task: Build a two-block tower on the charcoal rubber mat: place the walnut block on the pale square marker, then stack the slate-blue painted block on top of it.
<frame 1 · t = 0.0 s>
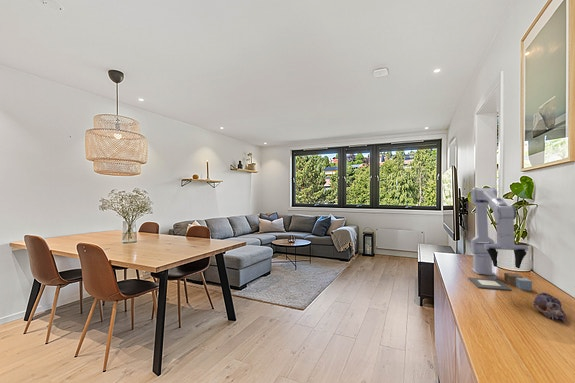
hand: (506, 267, 112), 10 cm above the sideboard, tool pointing down, fingers open, 7 cm apart
blue block: (523, 288, 114), on the sideboard
mat: (488, 284, 120), on the sideboard
skull: (550, 316, 89), on the sideboard
walnut block: (513, 283, 121), on the sideboard
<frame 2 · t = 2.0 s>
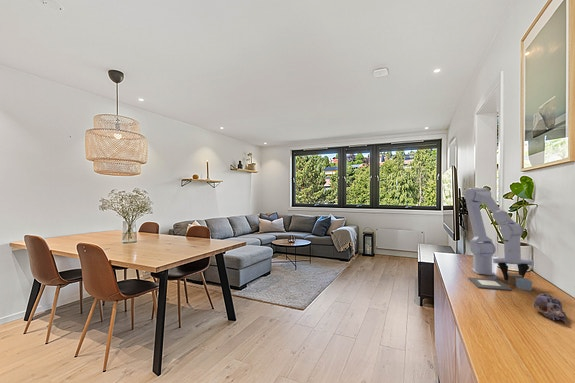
hand: (513, 279, 121), 1 cm above the sideboard, tool pointing down, fingers closed on walnut block, 5 cm apart
walnut block: (513, 283, 121), on the sideboard, touching gripper
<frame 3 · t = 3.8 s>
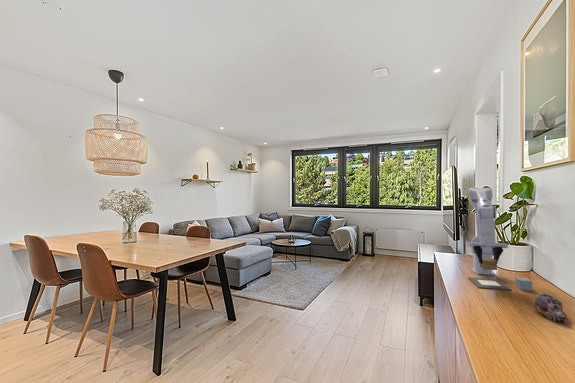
hand: (488, 263, 121), 9 cm above the sideboard, tool pointing down, fingers closed on walnut block, 5 cm apart
walnut block: (488, 268, 120), point 7 cm above the sideboard, touching gripper
when the fingers open (3 cm above the sideboard, at t = 5.5 s): walnut block stays where it is, resting on mat.
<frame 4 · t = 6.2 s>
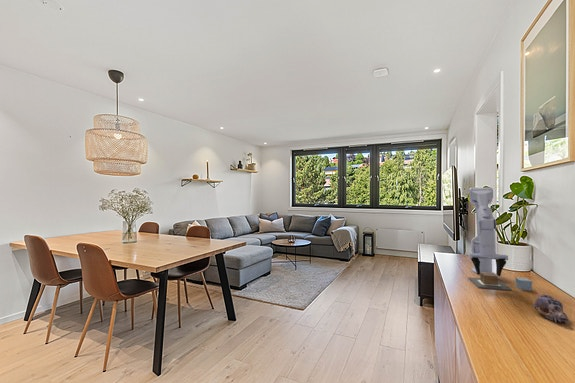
hand: (488, 274, 121), 4 cm above the sideboard, tool pointing down, fingers open, 7 cm apart
walnut block: (489, 282, 120), point 1 cm above the sideboard, touching mat
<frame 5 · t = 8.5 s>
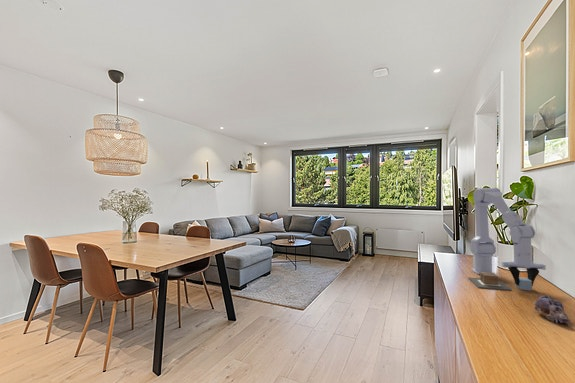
hand: (523, 285, 115), 1 cm above the sideboard, tool pointing down, fingers closed on blue block, 4 cm apart
blue block: (523, 288, 114), on the sideboard, touching gripper
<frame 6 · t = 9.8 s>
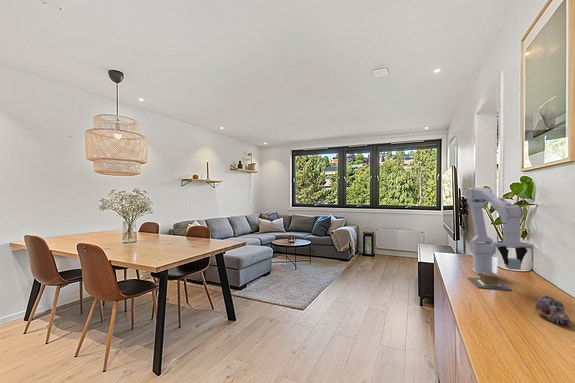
hand: (512, 264, 116), 10 cm above the sideboard, tool pointing down, fingers closed on blue block, 4 cm apart
blue block: (512, 268, 116), point 8 cm above the sideboard, touching gripper
when the fingers open (7 cm above the sideboard, at t = 11.2 s): blue block stays where it is, resting on walnut block.
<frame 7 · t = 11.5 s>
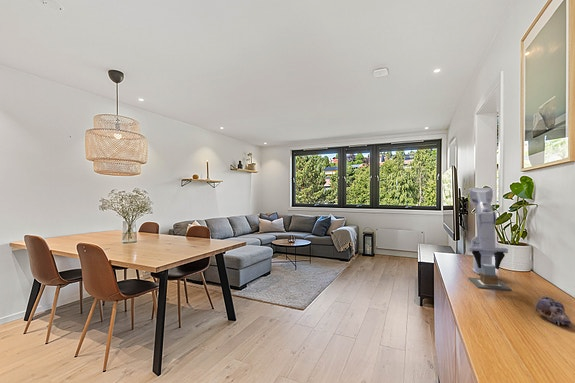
hand: (488, 268, 121), 7 cm above the sideboard, tool pointing down, fingers open, 6 cm apart
blue block: (488, 273, 120), point 5 cm above the sideboard, touching walnut block
walnut block: (488, 282, 120), point 1 cm above the sideboard, touching blue block, mat
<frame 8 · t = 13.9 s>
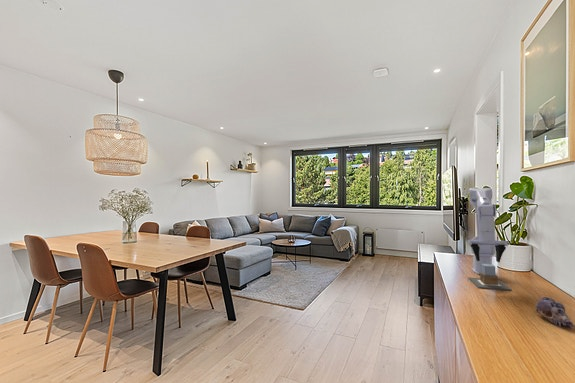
hand: (487, 261, 121), 10 cm above the sideboard, tool pointing down, fingers open, 7 cm apart
at the end: walnut block inside the target area (0.2 cm from its centre), point 0.7 cm above the sideboard; blue block 0.1 cm off-centre on the walnut block, point 4.0 cm above the walnut block's base; blue block tilted 0° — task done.
